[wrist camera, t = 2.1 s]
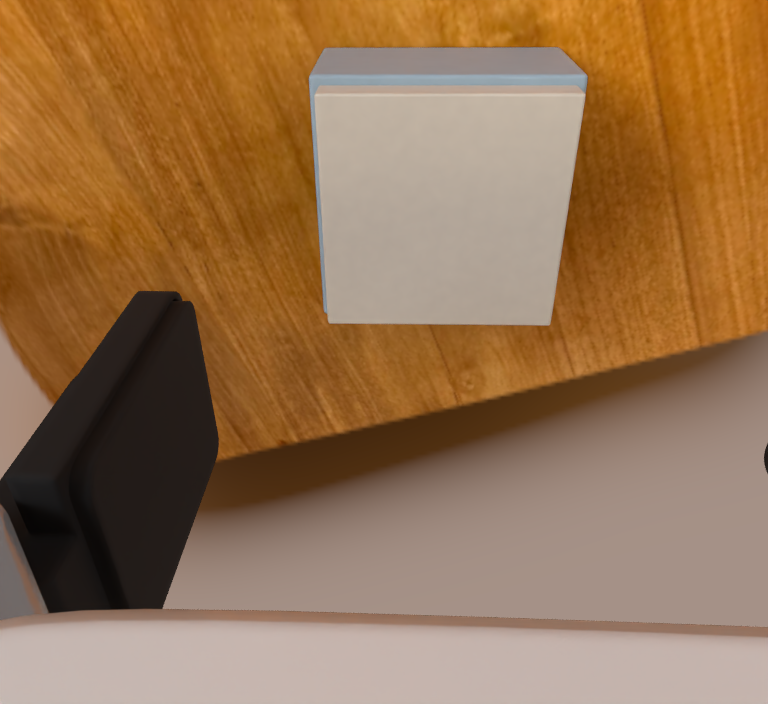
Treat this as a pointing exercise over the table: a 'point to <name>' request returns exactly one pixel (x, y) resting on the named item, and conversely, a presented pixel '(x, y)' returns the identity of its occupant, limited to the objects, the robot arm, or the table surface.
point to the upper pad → (443, 181)
